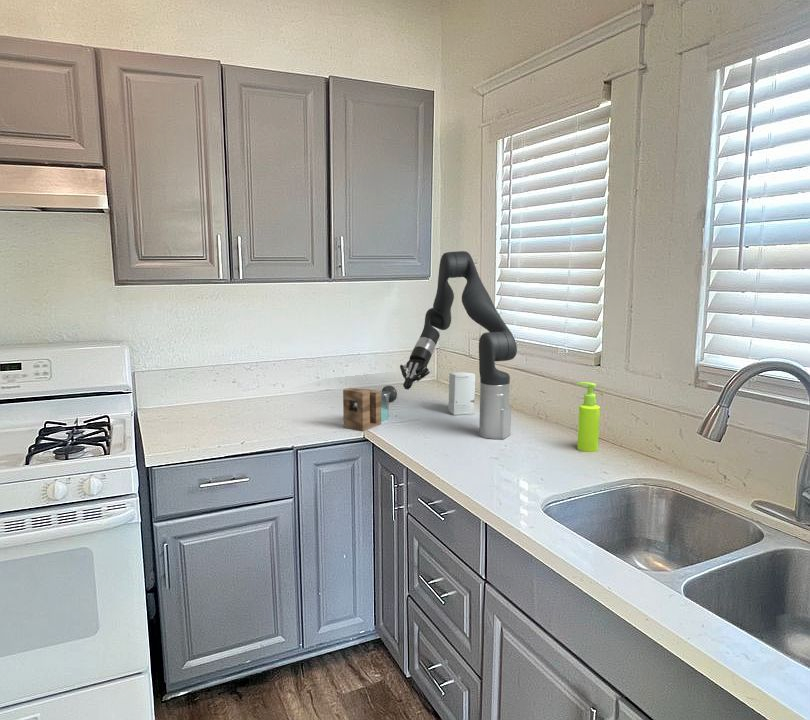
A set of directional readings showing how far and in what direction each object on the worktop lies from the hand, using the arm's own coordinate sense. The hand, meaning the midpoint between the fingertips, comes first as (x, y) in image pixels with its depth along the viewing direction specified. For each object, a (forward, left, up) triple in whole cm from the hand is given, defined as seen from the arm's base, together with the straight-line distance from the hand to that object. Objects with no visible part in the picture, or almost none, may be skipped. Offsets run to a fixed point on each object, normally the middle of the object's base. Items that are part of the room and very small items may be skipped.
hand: (406, 388), depth 227 cm
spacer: (0, +19, -8) cm, 21 cm away
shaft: (0, +21, -7) cm, 22 cm away
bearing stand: (0, +27, -8) cm, 29 cm away
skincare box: (-20, -6, -8) cm, 23 cm away
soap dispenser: (-71, +12, -8) cm, 73 cm away
